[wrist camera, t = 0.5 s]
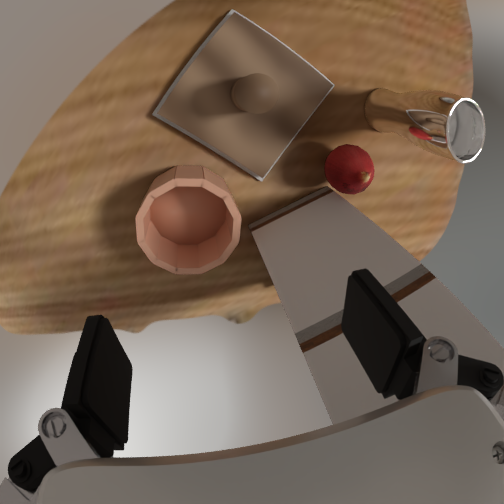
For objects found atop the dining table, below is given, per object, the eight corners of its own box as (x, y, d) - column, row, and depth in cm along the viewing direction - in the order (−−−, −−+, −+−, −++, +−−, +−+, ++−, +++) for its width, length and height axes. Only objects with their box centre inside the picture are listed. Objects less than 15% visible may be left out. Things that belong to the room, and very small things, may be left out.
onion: (357, 176, 37) (391, 197, 30) (319, 188, 37) (348, 212, 30) (350, 135, 34) (386, 148, 27) (310, 146, 34) (340, 161, 27)
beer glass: (357, 130, 34) (439, 159, 21) (364, 79, 30) (450, 85, 18) (398, 139, 35) (479, 171, 22) (405, 92, 32) (490, 107, 19)
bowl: (172, 147, 31) (169, 158, 26) (250, 194, 36) (261, 212, 30) (129, 224, 34) (120, 247, 29) (202, 261, 39) (205, 288, 34)
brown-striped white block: (278, 283, 43) (384, 525, 13) (248, 225, 38) (378, 536, 8) (347, 248, 43) (500, 452, 13) (327, 186, 37) (550, 411, 7)
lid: (233, 14, 24) (241, -1, 19) (329, 85, 30) (352, 85, 25) (158, 112, 28) (151, 115, 24) (260, 176, 34) (272, 190, 30)
